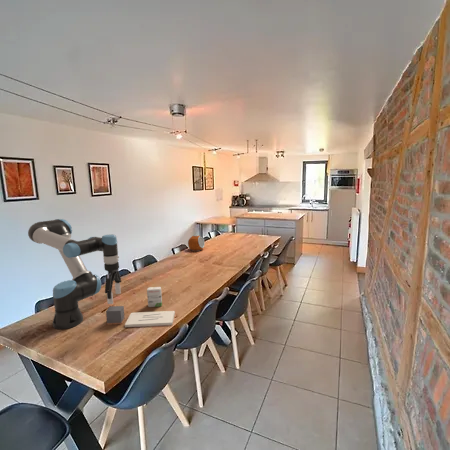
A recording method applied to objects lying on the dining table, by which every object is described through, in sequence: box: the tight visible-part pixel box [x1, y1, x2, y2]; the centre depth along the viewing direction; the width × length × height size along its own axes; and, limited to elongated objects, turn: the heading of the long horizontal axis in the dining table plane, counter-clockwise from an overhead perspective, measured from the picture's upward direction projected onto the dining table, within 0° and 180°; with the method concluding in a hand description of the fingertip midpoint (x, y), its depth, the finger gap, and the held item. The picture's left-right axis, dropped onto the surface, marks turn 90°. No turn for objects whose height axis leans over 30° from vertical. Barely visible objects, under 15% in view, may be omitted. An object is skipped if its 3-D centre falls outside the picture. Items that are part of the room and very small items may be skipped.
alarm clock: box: [187, 234, 205, 252], centre depth 319 cm, size 19×18×17 cm
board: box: [124, 310, 176, 328], centre depth 161 cm, size 26×14×2 cm, turn 94°
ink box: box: [146, 286, 163, 308], centre depth 179 cm, size 9×5×12 cm, turn 96°
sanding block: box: [105, 305, 125, 325], centre depth 159 cm, size 8×6×8 cm
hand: (114, 298), depth 157 cm, fingers open, 13 cm apart
